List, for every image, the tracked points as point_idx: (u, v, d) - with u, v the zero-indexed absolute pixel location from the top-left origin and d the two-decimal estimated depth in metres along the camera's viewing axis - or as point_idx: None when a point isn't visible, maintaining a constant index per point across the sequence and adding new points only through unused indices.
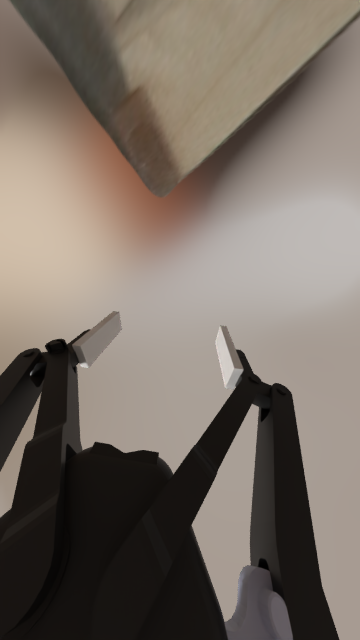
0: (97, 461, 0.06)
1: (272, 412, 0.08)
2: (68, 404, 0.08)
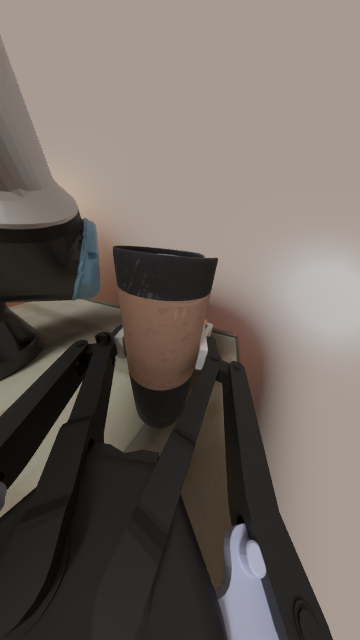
0: (97, 461, 0.06)
1: (232, 387, 0.09)
2: (100, 396, 0.08)
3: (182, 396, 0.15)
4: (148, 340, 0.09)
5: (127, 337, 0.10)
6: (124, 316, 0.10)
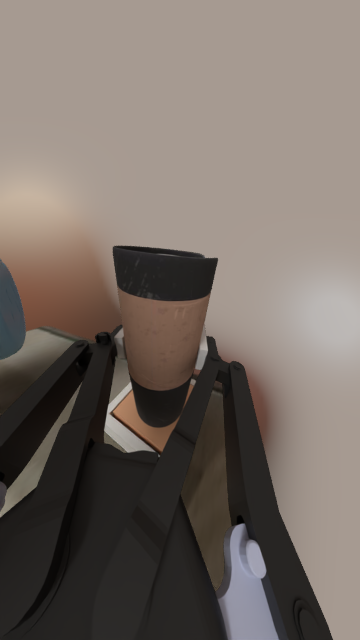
0: (97, 461, 0.06)
1: (232, 387, 0.09)
2: (100, 396, 0.08)
3: (182, 396, 0.15)
4: (148, 340, 0.09)
5: (127, 337, 0.10)
6: (124, 316, 0.10)
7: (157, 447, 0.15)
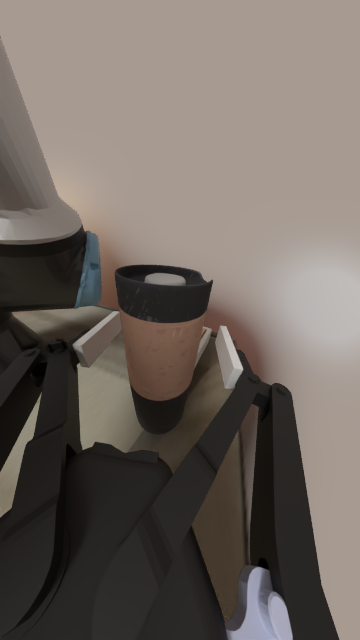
0: (97, 461, 0.06)
1: (272, 412, 0.08)
2: (68, 404, 0.08)
3: (180, 404, 0.15)
4: (148, 356, 0.10)
5: (128, 352, 0.11)
6: (125, 334, 0.10)
7: None
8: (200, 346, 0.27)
